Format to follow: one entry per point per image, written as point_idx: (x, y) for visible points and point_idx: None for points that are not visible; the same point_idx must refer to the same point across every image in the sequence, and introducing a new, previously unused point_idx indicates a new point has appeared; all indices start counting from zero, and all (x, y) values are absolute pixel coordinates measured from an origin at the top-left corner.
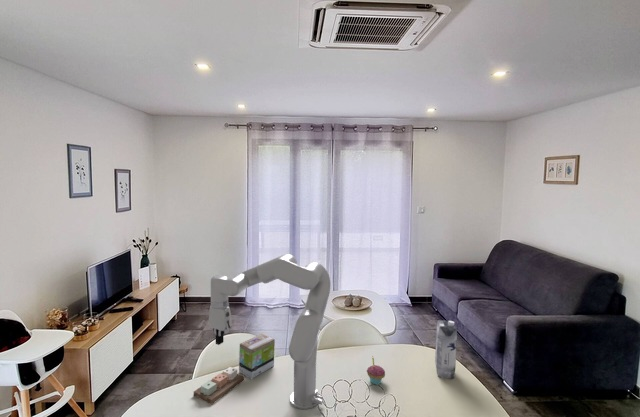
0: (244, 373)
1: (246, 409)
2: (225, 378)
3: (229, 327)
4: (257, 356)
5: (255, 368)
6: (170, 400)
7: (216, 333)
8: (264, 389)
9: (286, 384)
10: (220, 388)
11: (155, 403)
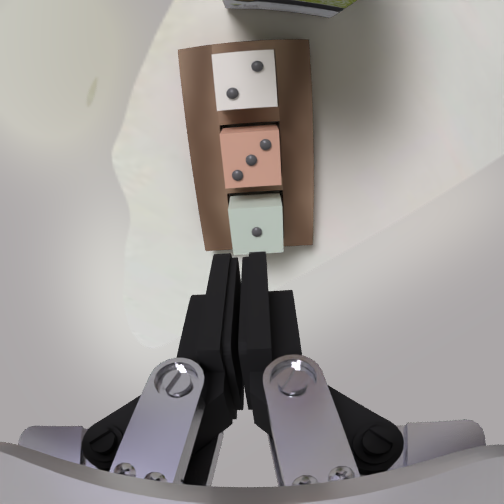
0: (273, 9)
1: (433, 189)
2: (279, 142)
3: (473, 450)
4: None
5: None
6: (169, 292)
7: (220, 442)
8: (426, 60)
9: (467, 5)
10: (284, 174)
11: (152, 318)
